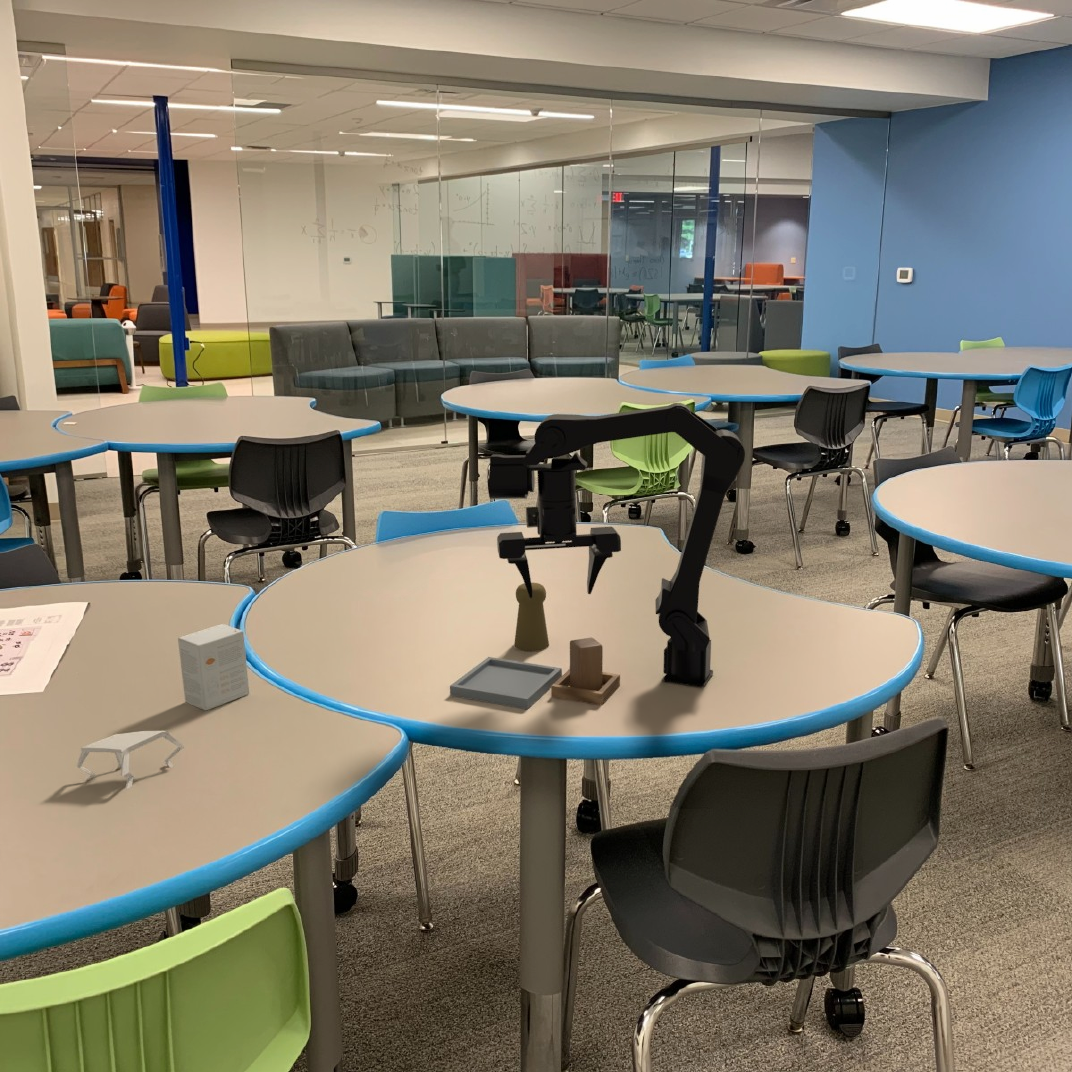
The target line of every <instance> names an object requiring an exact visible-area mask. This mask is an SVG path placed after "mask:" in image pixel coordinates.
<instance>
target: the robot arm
mask: <svg viewBox="0 0 1072 1072" xmlns="http://www.w3.org/2000/svg"><path fill="white" fill-rule="evenodd" d="M669 433H675V434H677V435H678V436H679V437H680V438H682V439H683V440H684V441H685V442H686V443H688V444H689V445H690V446H691V447H692V448H694V449H695V450H696V451H697V452H698V453H700V454H701V468H700V480H699V481H700V482H699V490H698V493H697V496H696V499H695V500H696V501H695V503H694V507H693V511H692V514H691V517H690V521H689V525H688V528H687V531H686V535H685V539H684V543H683V545H682V549H681V554H680V556H679V560H678V563H677V567H676V570H675V573H674V574H673V575H672V577H671V579H670V580H668V579H666V578H664V577H663V578H661V583H660V591H659V594H658V596H657V597H656V598H655V600H654V601H655V614H656V615H658V625H659V627H660V630H661V631H662V632H663V634H664V635H666V636H668V637H670V638H669V639H668V640H667V641H666V642H667V643H666V647H665V648H664V649H663V674H664V676H663V678H662V681H663V682H666V683H671V684H672V683H673V684H678V685H686V686H691V687H698V688H704V687H705V686H706V684H707V683H708V682H709V679H710V678H712V676H713V674H714V670H713V669H711V659H712V657H711V656H712V655H711V654H712V639H711V638H710V632H709V626H708V620H707V619H706V618H705V617H704V616H703V615H702V614H701V613H700V612H699V611H698V610H699V609H698V608H699V599H700V598H699V597H700V596H699V594H700V582H701V578H702V575H703V571H704V568H705V565H706V563H707V562H706V561H707V558H708V554H709V551H710V547H711V545H712V541H713V537H714V534H715V530H716V526H717V523H718V521H719V516H720V512H721V511H722V507H723V503H724V500H725V497H726V495H727V493H728V492H729V490H730V488H731V487H732V486H733V484H734V482H735V480H736V478H737V476H738V474H739V472H740V470H741V468H742V466H743V464H744V462H745V458H746V450H745V448H744V445H743V443H742V442H741V440H740V438H739V437H738V435H737V434H735V433H734V432H733V431H731V430H728V429H718V428H717V427H715V426H714V425H713V424H711V423H709V422H708V421H707V420H705V419H704V418H703V417H701V416H699V415H698V414H696V413H695V412H694V411H692V410H691V409H690V408H689V407H688V406H687V405H686V404H685V403H682V402H674V403H672V404H669V405H663V406H658V407H657V406H656V407H651V408H644V409H643V408H642V409H637V410H630V411H629V410H628V411H623V412H621V411H620V412H617V413H615V412H614V413H610V414H609V413H608V414H603V415H583V414H582V415H581V414H572V413H571V414H569V413H568V414H564V413H563V414H562V413H556V414H555V413H553V414H550V415H547V416H546V417H545V418H544V419H543V420H542V421H541V422H540V424H539V425H538V426H537V428H536V430H535V432H534V444H533V446H532V447H529V448H528V449H527V450H526V452H525V455H524V454H523V455H521V454H519V455H517V454H516V455H510V454H509V455H507V454H506V455H505V454H500V453H499V454H497V453H495V454H494V453H493V454H492V455H491V456H490V457H489V469H488V478H487V491H488V492H487V493H488V498H489V499H490V500H515V499H516V500H520V499H521V500H522V499H524V500H525V499H527V498H528V496H529V494H530V493H534V492H535V482H536V481H535V480H536V479H535V472H537V491H538V495H537V497H538V500H537V501H538V506H528V507H525V519H526V521H525V522H526V527H527V528H530V529H531V528H537V529H536V530H537V535H539V536H536V537H524V534H523V531H516V532H514V531H513V532H512V531H511V532H500V533H499V534H498V535H497V537H496V541H497V542H496V546H497V547H496V548H497V553H498V556H499V559H502V560H505V559H506V560H507V563H508V564H511V565H515V566H516V568H517V570H518V572H519V574H520V576H521V577H522V581H523V582H524V583H525V586H526V589H527V591H528V594H529V597H530V598H532V584H531V583H532V579H531V573H530V568H529V567H530V566H529V561H528V560H529V559H528V557H527V555H526V551H534V550H537V551H538V550H552V549H553V550H554V549H566V548H567V549H569V548H582V547H583V548H584V547H585V548H586V547H588V566H587V579H586V586H587V587H586V589H587V590H586V591H587V594H588V595H591V594H592V592H593V589H594V586H595V584H596V581H597V578H598V577H599V573H600V572H601V569H602V568H603V566H604V564H605V562H606V560H607V559H609V558H610V559H611V558H614V557H613V553H619V552H621V551H622V542H621V541H622V540H621V535H620V534H619V533H618V531H617V530H616V529H615V528H614V527H613V526H601V527H600V526H597V527H590V531H589V533H586V534H585V533H584V534H577V531H578V529H577V505H576V504H577V499H576V498H577V497H576V494H577V493H576V471H586V469H587V467H588V462H587V461H586V460H584V459H583V457H581V456H580V455H579V453H578V451H580V450H583V449H585V448H587V447H590V446H593V445H596V444H599V443H604V442H613V441H621V440H625V439H626V440H627V439H633V438H641V437H647V436H653V435H654V436H655V435H661V434H669ZM572 453H573V455H571V457H562V456H567V455H569V454H572ZM547 458H552V459H551V462H549V463H548V462H547V463H542V462H543V461H545V460H547ZM524 583H523V584H524Z"/></svg>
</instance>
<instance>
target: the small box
mask: <svg viewBox="0 0 1072 1072" xmlns="http://www.w3.org/2000/svg"><path fill="white" fill-rule="evenodd" d="M177 640H178V641H177V643H178V649H179V650H178V651H179V659H180V669H181V677H182V678H181V679H182V685H183V695H184V701H185V703H188V704H189V705H192V706H194V707H196V708H198V709H201V710H203V711H208V710H212V709H215V708H217V707H219V706H222V705H224V704H227V703H229V702H232V701H234V700H236V699H240V698H242V697H244V696H247V695H249V694H250V687H249V676H248V667H247V666H248V665H247V655H246V644H245V635H244V630H241V629H238V628H236V627H233V626H229V625H227V624H225V623H220V624H218V625H213V626H211V627H208V628H204V629H202V630H198V631H195V632H191V633H189V634H186V635H183V636H179V637H178V638H177Z"/></svg>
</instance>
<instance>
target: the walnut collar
mask: <svg viewBox="0 0 1072 1072" xmlns="http://www.w3.org/2000/svg"><path fill="white" fill-rule="evenodd" d="M620 686H621V675H620V674H618V673H610V672H604V671H602V688H601V689H600V690H599V691H594V690H588V689H581V688H575V687H570V668H569V669H568V670H567V671H566V672H565V673H564V674H562V676H561V677H560V678H559V679H558V680H557V681H556V682H555V683H554V684H553V685H552V686H551V688H550V690H551V693H550V694H551V698H556V699H561V700H567V701H574V702H579V703H586V704H591V705H598V706H602V705H603V704H604V703H606V701H607V700H608V699H609V698H610V697H611V696H612V695H613V694H614V693H615V691H616V690H617V689H618V688H619V687H620Z"/></svg>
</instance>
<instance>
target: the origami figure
mask: <svg viewBox="0 0 1072 1072" xmlns="http://www.w3.org/2000/svg"><path fill="white" fill-rule="evenodd" d="M161 738H164V739H165V740H168V741H169V742H171V743H172V744H174V745H175V746H177V748H175V750H174V751H173V752H171V754H170V755H168V757H166V758H165V759H164V762H165V764H166V765H167V767H168V768H169V769H171V768H173V767H174V765H173V763H172V762H171V761H170V760H171V759H172V758H173V757H174V756H176V754H178V753H179V752H180V751H181V750H182V749H184V748H185V746H184V745H183V744H182V743H181V742H180V741H179V740H178V739H176V738H175V737H173V735H171V734H170V733H169V732H168V730H142V731H141V730H139V731H132V732H125V733H116V734H115V733H114V734H113V735H111V736H108V737H105V738H102V739H100V740H97V741H94V742H92V743H90V744H87V745H85V746H81V747H80V751H81V752H80V754H79V755H80V756H79V757H78V761H77V765H76V767H77V768H78V769H80V770H82V771H84V772H85V773H87V774H89V776H88V778H86V780H87V781H89V780H91V779H93V778H94V776H95V775H96V774H95V773H93V772H92V771H90V770H89V769H88V768H86V767H84V766H83V764H84V762H85V759H86V758H87V756H88V755H89V754H90V753H110V754H113V753H114V755H115V758H116V761H117V769H120V776H122V777H124V778H126V779H127V780H126V784H125V787H124V788H125V789H126V790H127V789H129V788H131V787H133V782H134V777H135V776H134V775H132V774H131V772H130V753H131V752H133V751H135V750H137V749H139V748H141V747H143V746H147V745H148V744H149V743H152V742H154V741H156V740H159V739H161Z"/></svg>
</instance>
